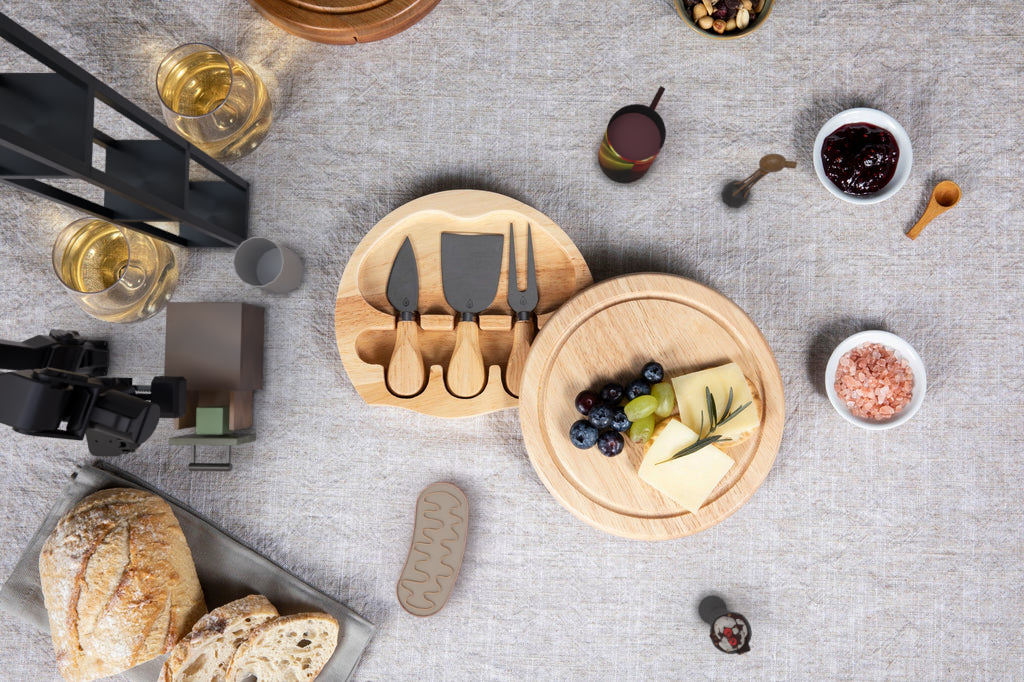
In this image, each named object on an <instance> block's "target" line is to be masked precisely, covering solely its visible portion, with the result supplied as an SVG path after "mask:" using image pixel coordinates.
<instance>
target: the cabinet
mask: <svg viewBox="0 0 1024 682" xmlns="http://www.w3.org/2000/svg"><path fill="white" fill-rule="evenodd" d="M165 307H166V311H165V341H164V342H165V343H164V348H165V349H164V372H163V374H164V375H163V376H183V377H184V378H185V379H186V380H187V388H186V391H246V390H252V391H259V390H263V384H264V383H263V382H264V380H263V379H264V344H265V343H264V341H265V340H264V339H265V307H263V306H258V305H254V304H250V303H246V302H242V301H241V302H240V301H239V302H238V301H237V302H236V301H235V302H233V301H232V302H231V301H227V302H226V301H221V302H219V301H166V305H165Z"/></svg>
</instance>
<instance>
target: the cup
mask: <svg viewBox="0 0 1024 682" xmlns="http://www.w3.org/2000/svg"><path fill="white" fill-rule="evenodd" d="M233 255H234V256H233V259H232V266H233V269H234V274H235V276H237V277H238V279H239V280H240V281H241V282H242V283H243V284H245V285H248V286H250V287H252V288H255V289H259V290H261V291H266V292H268V293H272V294H276V295H281V294H282V295H283V294H285V295H286V294H288V293H290V292H292V291H294V290H295V289H297V287H298V286H299V284H300V283H301V282H302V280H303V275H304V272H305V271H304V266H303V262H302V259H301V258H300V257H299V255H298V254H297V253H296V251H293V250H291V249H290V248H287V247H286V246H283V245H281V243H278V242H276V241H274V240H272V239H270V238H268V237H265V236H252V237H250V238H248V240H246V241H244V242H242V243H241V245H240V246H239V247H238V248H237V249H236V250H235V251H234V254H233Z"/></svg>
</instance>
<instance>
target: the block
mask: <svg viewBox="0 0 1024 682" xmlns="http://www.w3.org/2000/svg"><path fill="white" fill-rule="evenodd" d="M229 415H230V406H207V407H198V408H197V414H196V427H195V433H196V434H215V435H222V434H233V433H234V432H235V430H229Z"/></svg>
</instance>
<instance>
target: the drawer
mask: <svg viewBox="0 0 1024 682" xmlns="http://www.w3.org/2000/svg"><path fill="white" fill-rule="evenodd" d="M207 406H230V415H229V430H234V431H237V430H242V429H246V428H251V427H253V390H246V391H186V414H185V415H184V416H183V417H182V418H173V430H175V431H180V430H185V429H192V428H196V414H197V408H198V407H207ZM256 441H257V434H256V433H227V434H222V435H215V434H196V432H195V433H193V432H192V433H187V434H182V435H176V436H171V437H168V445H169V446H190V462H189V463H188V465H187V471H188V472H219V473H221V472H223V473H226V472H227V473H228V472H229V473H230V472H232V471H233V468H234V467H233V463H232V462H231V461H232V459H231V457H232V447H236V446H241V445H245V444H249V443H252V442H256ZM197 446H223V447H224V446H225V462H223V463H222V462H196V460H197V459H196V457H197V456H196V454H197V451H196V450H197Z"/></svg>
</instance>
